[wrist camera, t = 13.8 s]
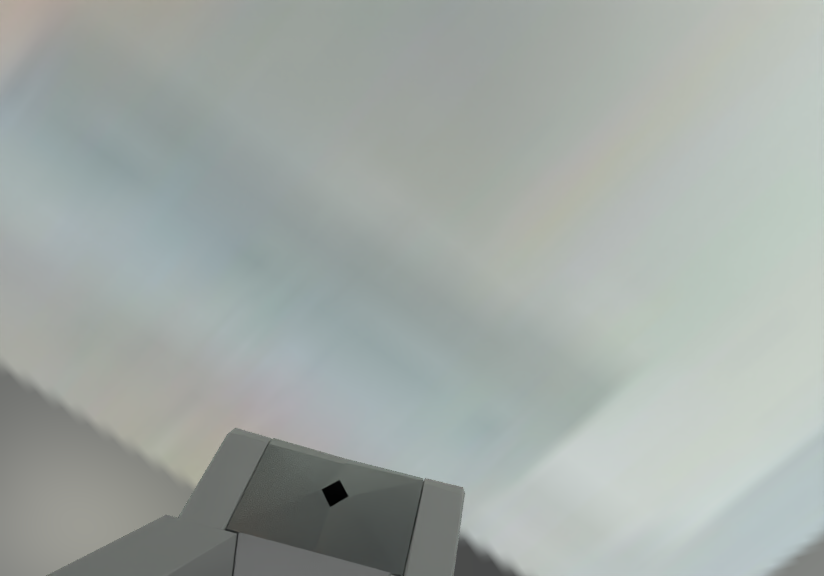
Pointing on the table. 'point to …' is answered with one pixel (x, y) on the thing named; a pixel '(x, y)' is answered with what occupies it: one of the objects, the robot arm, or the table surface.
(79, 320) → the table surface
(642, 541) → the table surface
